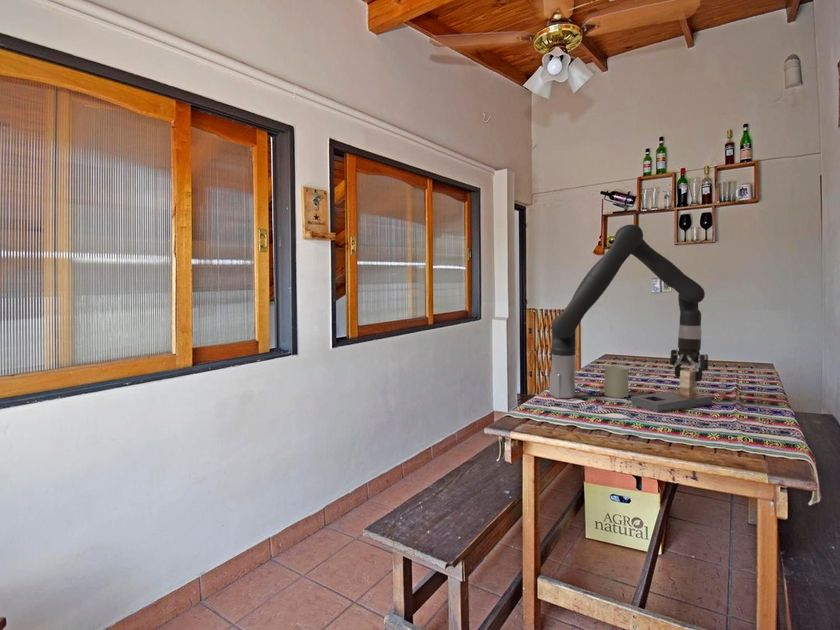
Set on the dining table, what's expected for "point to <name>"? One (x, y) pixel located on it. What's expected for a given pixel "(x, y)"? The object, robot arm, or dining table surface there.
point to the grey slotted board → (670, 401)
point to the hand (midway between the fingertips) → (687, 378)
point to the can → (616, 381)
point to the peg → (688, 383)
